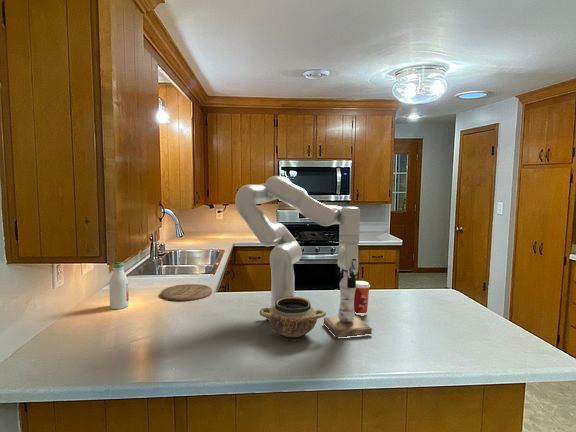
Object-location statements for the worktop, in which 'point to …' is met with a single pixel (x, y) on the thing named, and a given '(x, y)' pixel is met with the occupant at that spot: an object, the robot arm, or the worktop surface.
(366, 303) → the paper cup
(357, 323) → the plinth
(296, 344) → the worktop surface
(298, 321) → the ceramic bowl
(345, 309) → the plastic bottle
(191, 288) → the trivet
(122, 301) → the milk bottle
